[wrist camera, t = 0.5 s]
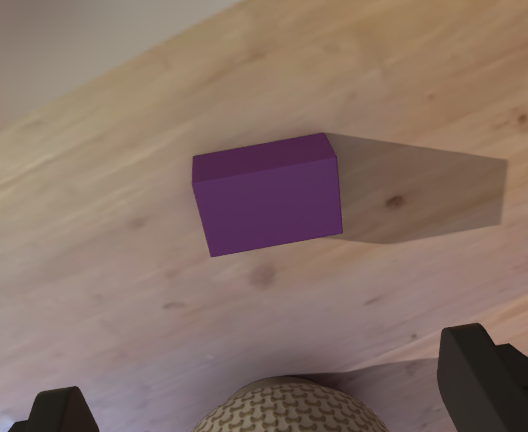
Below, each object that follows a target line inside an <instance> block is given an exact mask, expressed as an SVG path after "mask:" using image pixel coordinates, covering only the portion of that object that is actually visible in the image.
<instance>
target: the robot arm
mask: <svg viewBox="0 0 528 432" xmlns="http://www.w3.org/2000/svg"><path fill="white" fill-rule="evenodd" d="M437 380H438V386H439V390H440V394H441V397H442V399H443V402H444V404H445V406H446V408H447V410H448V412H449V414H450V417H451V419H452V421H453V423H454V425H455V427H456V429H457V431H458V432H528V357H526V356H525V355H524V354H522V353H521V352H520V351H518V350H517V349H516V348H514V347H513V346H512V345H511V344H509V343H508V344H502V345H495V344H494V342H493V341H492V339H491V338H490V336H489V335H488V333H487V331H486V330H485V329H484V327H483V326H482V325H481V324H479V323H472V324H466V325H460V326H454V327H447V328H444V329H443V330H442V333H441V341H440V350H439V359H438V369H437ZM8 432H99V428H98V426H97V424H96V422H95V420H94V417H93V415H92V413H91V411H90V409H89V407H88V405H87V403H86V401H85V399H84V397H83V395H82V392H81V391H80V389H79V388H78V387H77V386H73V387H67V388H60V389H54V390H48V391H42V392H40V393H39V394H38V395H37V396H36V398H35V401H34V404H33V407H32V410H31V413H30V416H29V419H28V420H25V421H19V422H15V423H14V424H13V426H12V427H11V428H10V430H9V431H8Z"/></svg>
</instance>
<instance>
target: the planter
mask: <svg viewBox="0 0 528 432" xmlns="http://www.w3.org/2000/svg"><path fill="white" fill-rule="evenodd" d="M192 432H389V430H388V429H387V427H386V426H385V425H384V424H383V422H382V421H381V420H380V419H379V418H378V417H377V415H376V414H375V413H374V412H373V411H372V410H371V409H370V408H368V407H367V406H366V405H364V404H363V403H362V402H360V401H358V400H357V399H355V398H353V397H351V396H349V395H347V394H345V393H343V392H340V391H337V390H334V389H331V388H328V387H324V386H321V385H319V384H317V383H315V382H313V381H310V380H307V379H304V378H299V377H290V376H280V377H272V378H266V379H262V380H259V381H256V382H254V383H251V384H249V385H247V386H245V387H243V388H242V389H240V390H239V391H237V392H236V393H235V394H234V395H233V396H232V397H230V398H229V400H228V401H226V402H224V403H223V404H221V405H220V406H218V407H217V408H215V409H214V410H213V411H211V412H210V413H209V414H208V415H207V416H205V417H204V418H203V419H202V420H201V421H200V422H199V423H198V424H197V425H196V426H195V428H194V429H193V430H192Z"/></svg>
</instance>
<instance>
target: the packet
mask: <svg viewBox="0 0 528 432" xmlns="http://www.w3.org/2000/svg"><path fill="white" fill-rule="evenodd" d="M192 187H193V191H194V194H195V198H196V202H197V206H198V210H199V214H200V217H201V221H202V225H203V229H204V233H205V237H206V240H207V244H208V248H209V252H210V256H211V257H216V256H222V255H227V254H233V253H238V252H243V251H249V250H254V249H260V248H265V247H271V246H276V245H282V244H287V243H293V242H298V241H304V240H309V239H314V238H320V237H325V236H331V235H336V234H342V233H343V231H342V218H341V205H340V192H339V179H338V167H337V157H336V155H335V153H334V151H333V149H332V147H331V145H330V143H329V141H328V139H327V138H326V136H325V134H324V133H319V134H313V135H308V136H302V137H297V138H291V139H286V140H280V141H275V142H269V143H264V144H258V145H253V146H247V147H242V148H236V149H231V150H225V151H220V152H214V153H209V154H203V155H198V156H193V164H192Z"/></svg>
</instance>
